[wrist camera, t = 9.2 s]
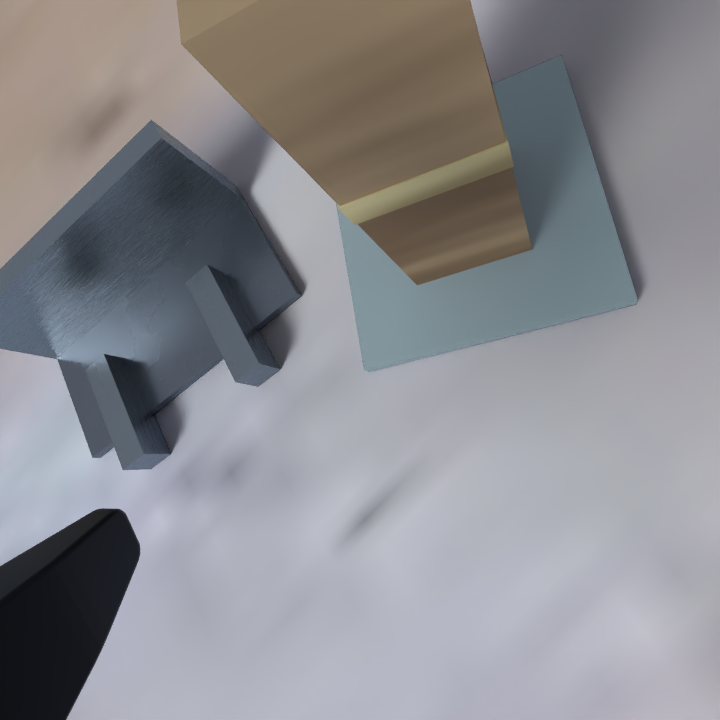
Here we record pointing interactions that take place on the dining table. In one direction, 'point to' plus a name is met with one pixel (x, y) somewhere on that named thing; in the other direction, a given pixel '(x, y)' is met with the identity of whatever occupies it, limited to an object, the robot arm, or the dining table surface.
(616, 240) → the mat
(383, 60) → the tan rectangular block
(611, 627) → the dining table surface
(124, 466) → the bracket
